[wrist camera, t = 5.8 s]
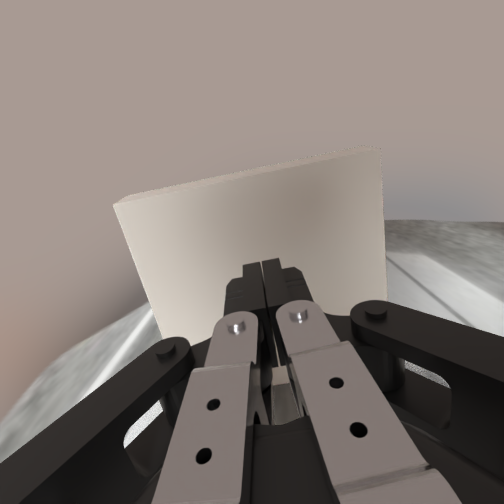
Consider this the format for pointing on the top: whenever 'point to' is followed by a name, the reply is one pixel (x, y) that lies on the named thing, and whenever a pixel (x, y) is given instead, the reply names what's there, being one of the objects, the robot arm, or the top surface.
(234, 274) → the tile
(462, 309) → the top surface
